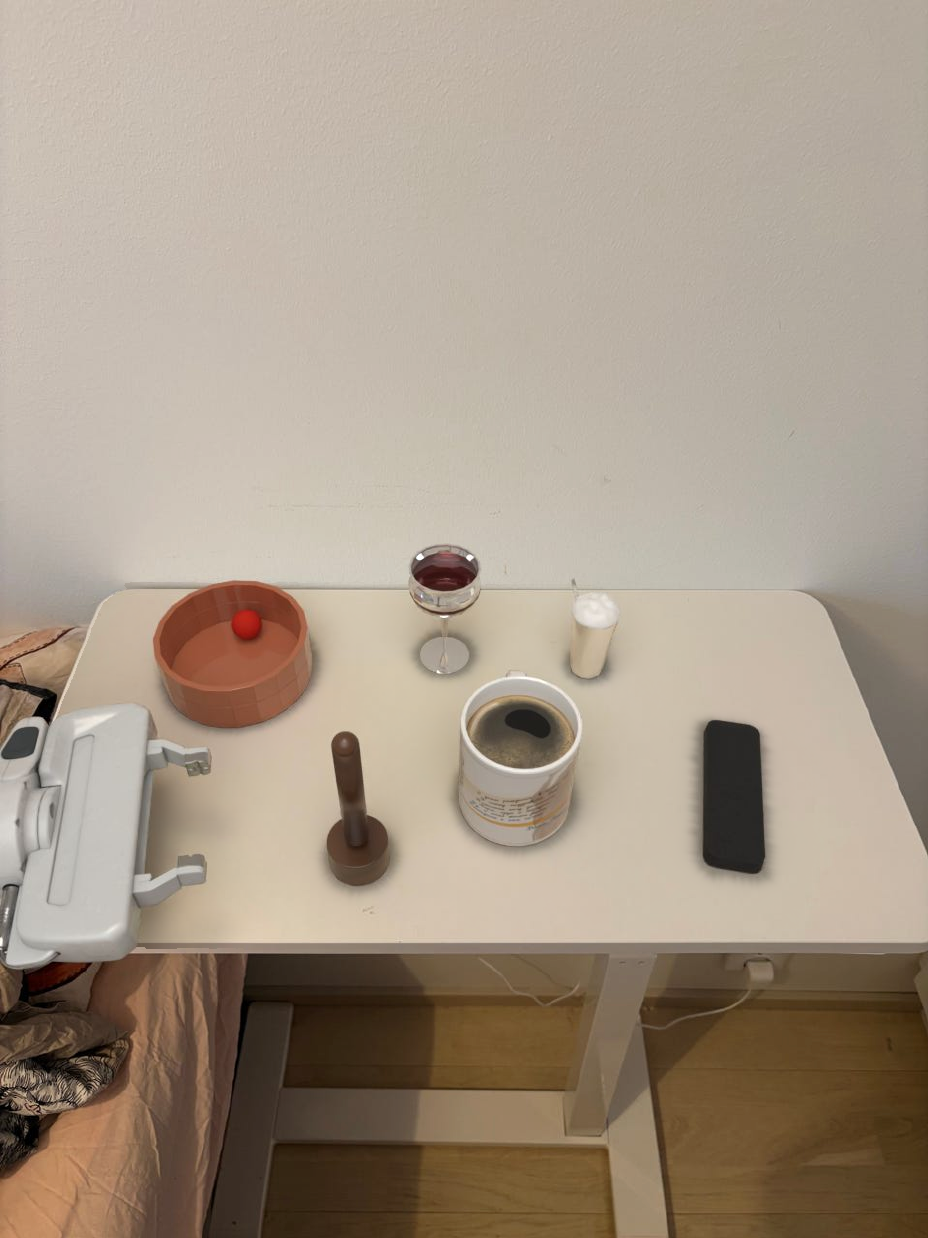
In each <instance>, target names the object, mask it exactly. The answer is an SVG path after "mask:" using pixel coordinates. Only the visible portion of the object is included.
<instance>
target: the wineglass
mask: <svg viewBox="0 0 928 1238" xmlns="http://www.w3.org/2000/svg"><path fill="white" fill-rule="evenodd" d="M481 572H482V566H481V561H480V560H479V558H478V557H477V555H476V554H475V553H474V552H472V551H471V550H470V549H469V548H467V547H464V546H461V545H460V544H459V545H458V544H453V543H435V544H431V545H428V546H425V547H423V548H422V549H420V550H418V551H416V553H415V554H414V555H413V556H412V557H411V559H410V561H409V564H408V574H409V577H408V591H409V595H410V597H411V599H412V600H413V602H414V604H415V606H416V607H417V608H418V609H420V611H422V612H423V613H425V614H427V615H430V616H432V617H435V618H440V626H441V636H437V637H435V638H432V639H430V640H427V642H425V643H424V644H423V646H421V648H420V652H419V658H420V659H419V660H420V662H421V663H422V665H423V666H424V667H425V668H426V669H427V670H429V671H431V672H433V673H437V674H443V675H445V674H452V673H455V672H458V671H460V670H461V669H463V668H464V667H465V666H466V665H467V664H468V662H469V659H470V652H469V649H468V647H467V645H466V644H465V643H464V642H462V641H461V640H459V639H457V638H455V637H450V636H448V631H449V618H454V617H457V616H461V615H463V614H465V613H466V612H468V611H469V610H471V608H472V607H473V606H474V605H475V604H476V602H477V600H478V599H479V597H480V595H481V590H482V588H481V587H482V581H481V576H480V575H481Z"/></svg>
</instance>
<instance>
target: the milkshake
mask: <svg viewBox="0 0 928 1238" xmlns="http://www.w3.org/2000/svg"><path fill="white" fill-rule="evenodd" d="M570 582H571V586H572V591H573V594H574V598H575V599H574V600H573V602H572V604H571V606H570V607H571V608H570V646H569V647H570V648H569V650H570V651H569V653H570V654H569V666H570V669H571V672H572V673H573V674H574V675H575V676H577V677H579V678H581V679H588V680H591V679H593V678H596V677H599V676H600V674H601V673H602V671H603V669H604V666H605V662H606V659H607V657H608V653H609V650H610V646H611V643H612V639H613V638H614V637H613V636H614V634H615V631H616V628H617V625H618V623H619V619H620V617H621V608H620V605H619V604H618V602H617V601H616V600H615V599H614V598H613V597H612V596H611V595H610V594H608V593H607V592H597V591H589V592H585V593H583V594H581V595H579V590H578V587H577V583H576V582H577V581H576V579H575V578H572V579H571V580H570Z"/></svg>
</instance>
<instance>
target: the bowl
mask: <svg viewBox="0 0 928 1238" xmlns="http://www.w3.org/2000/svg"><path fill="white" fill-rule="evenodd" d="M241 610H252V611H254V612H256V613H257V614H258V615H259V616H260V618H261V621H262V628H261V631H260V633H259V634H258V635H257V636H256V637H254V638H252V639H241V638H239V637H237V636H236V635H235V634H234V632H233V630H232V627H231V622H232V619H233V617H234V615H235V614H236V613H238V612H239V611H241ZM310 639H311V638H310V635H309V627H308V622H307V618H306V615H305V610H304V608H302V606H301V605H300V604H299V602H298V601H297V600H296V598H295V597H294V596H293V595H291V594H290V593H288V592H287V591H285V590H283V589H281V588H280V587H278V586H276V585H272V584H268V583H265V582H262V581H257V580H237V579H236V580H235V579H234V580H229V581H221V582H217V583H212V584H209V585H207V586H204V587H202V588H199V589H197V590H194V591H192V592H189V593H188V594H187V595H185V596H183V597H182V598H181V599H179V600H178V601H177V602H175V603H174V604H171V606H170V608H169V609H168V610H167V611H166V613H165V614H164V615H163V616H162V617H161V618H160V620H159V621H158V624H157V626H156V630H155V633H154V635H153V638H152V644H153V657H154V659H155V662H156V665H157V668H158V671H159V674H160V677H161V680H162V684H163V686H164V689H165V692H166V693H167V694H168V697H169V700H170V701H171V702H172V704H173V706H174V707H175V708H176V709H177V710H178V711H179V712H180V713H181V714H182V715H184V716H185V717H186V718H188V719H190V720H192V721H194V722H196V723H199V724H201V725H204V726H207V727H214V728H222V729H233V728H234V729H235V728H242V727H249V726H253V725H257V724H260V723H262V722H265V721H266V722H267V721H268V720H271V719H272V718H274V717H276V716H279V715H280V714H281V713H283V712H284V711H286V710H287V709H288V708H290V707H292V706H293V704H294V703H296V701H297V700H299V698H300V697H301V695H303V693H304V691H305V690H306V689H307V686H308V684H309V682H310V679H311V677H312V671H313V654H312V653H313V652H312V646H311V640H310Z"/></svg>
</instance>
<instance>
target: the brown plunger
mask: <svg viewBox="0 0 928 1238" xmlns="http://www.w3.org/2000/svg"><path fill="white" fill-rule="evenodd" d="M330 749H331V755H332V763H333V768H334V775H335V776H334V777H335V783H336V789H337V796H338V803H339V811H340V816H341V817H340V818H341V819H339V820H338V821H336V822H335V823H334V825H333V826H331V828H330V830H329V831H328V834H327V836H326V850H327V856H328V863H329V867H330V870H331V872H332V874H333V875H334V877H335V878H336V879H338V880H339V881H340V882H342V883H343V884H346V885H349V886H355V887H359V886H360V887H361V886H366V885H369V884H372V883H374V882H376V881H377V880H378V879H379V878H381V877H382V876H383V875H384V874H385V872H386V871H387V869H388V867H389V863H390V859H391V858H390V845H389V844H390V843H389V835H388V831H387V829H386V826H384V824H383V823H382V822H381V821H380V820H379V819H378V818H376V817H374V816H372V815H369V814H368V811H367V802H366V792H365V791H366V790H365V783H364V773H363V765H362V755H361V747H360V740H359V738H358V736H357V735H356V734H355V733H354V732H351V731H349V730H343V731H340V732H338V733H336V734H335V735H334V736H333V738H332V740H331V743H330Z"/></svg>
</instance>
